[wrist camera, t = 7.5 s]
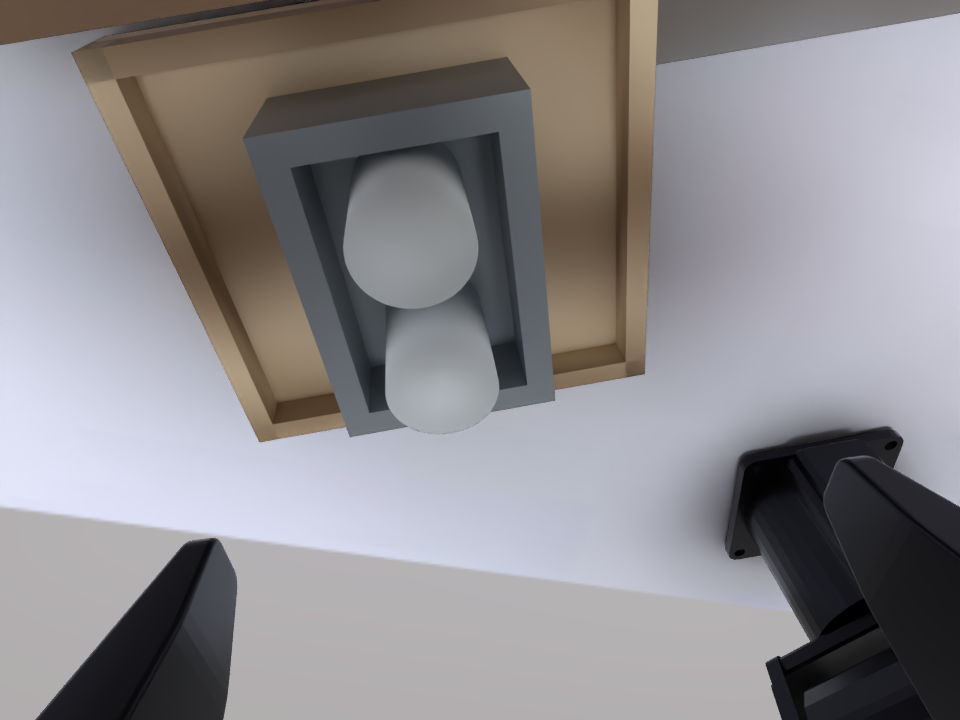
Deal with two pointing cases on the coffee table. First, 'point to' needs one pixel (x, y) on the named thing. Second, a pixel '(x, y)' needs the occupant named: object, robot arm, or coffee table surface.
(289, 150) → the tray
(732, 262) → the coffee table surface
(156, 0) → the wooden stand
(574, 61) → the shallow wooden box
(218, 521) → the coffee table surface
